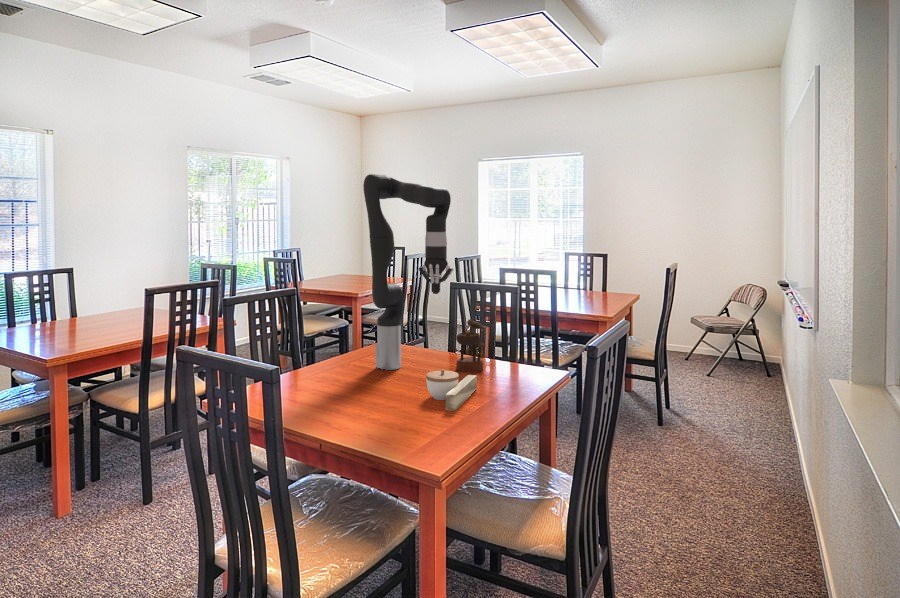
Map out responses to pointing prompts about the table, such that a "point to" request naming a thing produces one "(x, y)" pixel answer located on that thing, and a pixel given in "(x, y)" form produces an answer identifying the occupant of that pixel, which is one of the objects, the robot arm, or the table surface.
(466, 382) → the grey long bar
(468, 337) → the music box
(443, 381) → the lidded jar
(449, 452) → the table surface
